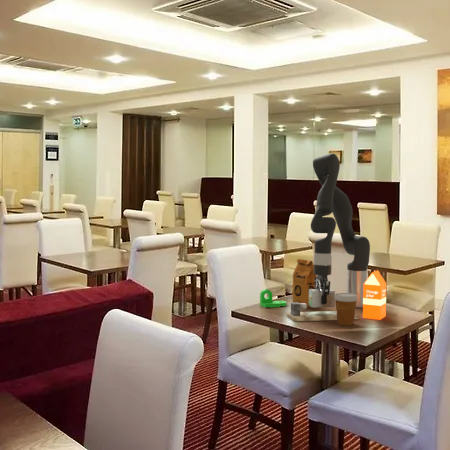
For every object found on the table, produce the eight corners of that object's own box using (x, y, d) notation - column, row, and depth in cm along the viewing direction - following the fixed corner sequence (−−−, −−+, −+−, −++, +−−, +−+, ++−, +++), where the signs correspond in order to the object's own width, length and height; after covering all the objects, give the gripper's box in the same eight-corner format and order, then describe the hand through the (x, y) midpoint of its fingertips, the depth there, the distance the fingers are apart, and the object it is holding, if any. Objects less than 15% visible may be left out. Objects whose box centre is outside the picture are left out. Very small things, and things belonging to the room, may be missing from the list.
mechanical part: (264, 308, 271) (265, 291, 271) (260, 306, 277) (260, 289, 277) (288, 307, 275) (288, 290, 275) (283, 304, 281) (283, 288, 280)
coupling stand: (349, 313, 259) (349, 299, 258) (359, 319, 248) (359, 304, 248) (286, 315, 253) (286, 301, 253) (293, 321, 243) (293, 305, 242)
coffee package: (303, 308, 271) (304, 261, 270) (289, 304, 282) (290, 258, 281) (321, 306, 275) (322, 260, 274) (307, 302, 286) (307, 257, 285)
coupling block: (307, 305, 252) (307, 289, 252) (331, 304, 254) (332, 288, 254) (311, 307, 247) (311, 291, 247) (335, 306, 249) (336, 290, 249)
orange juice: (386, 316, 255) (387, 270, 254) (380, 319, 247) (381, 272, 246) (368, 314, 259) (369, 269, 258) (362, 317, 251) (363, 271, 250)
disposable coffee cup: (329, 323, 239) (329, 294, 238) (342, 320, 246) (342, 291, 245) (348, 327, 232) (349, 297, 232) (361, 323, 239) (362, 294, 238)
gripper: (308, 261, 256) (308, 300, 257) (319, 265, 242) (318, 306, 243) (325, 261, 257) (324, 299, 258) (336, 265, 243) (336, 305, 244)
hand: (321, 302), depth 250 cm, fingers closed on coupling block, 5 cm apart
